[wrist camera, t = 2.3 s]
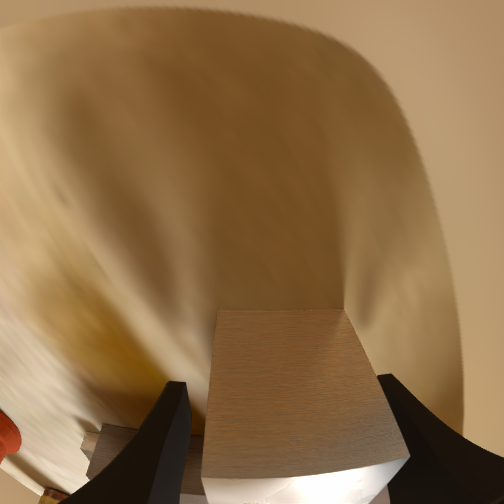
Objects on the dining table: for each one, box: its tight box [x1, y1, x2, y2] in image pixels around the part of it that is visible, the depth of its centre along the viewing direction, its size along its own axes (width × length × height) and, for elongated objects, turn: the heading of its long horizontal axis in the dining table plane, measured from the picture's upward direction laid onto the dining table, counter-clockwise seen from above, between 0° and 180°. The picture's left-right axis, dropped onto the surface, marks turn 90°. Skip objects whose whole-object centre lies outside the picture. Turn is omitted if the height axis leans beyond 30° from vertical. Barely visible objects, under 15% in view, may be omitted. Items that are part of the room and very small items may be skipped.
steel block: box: [201, 309, 410, 504], centre depth 10 cm, size 5×5×7 cm
